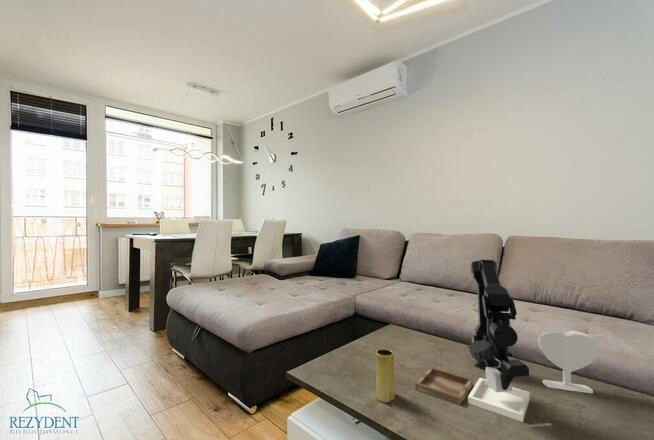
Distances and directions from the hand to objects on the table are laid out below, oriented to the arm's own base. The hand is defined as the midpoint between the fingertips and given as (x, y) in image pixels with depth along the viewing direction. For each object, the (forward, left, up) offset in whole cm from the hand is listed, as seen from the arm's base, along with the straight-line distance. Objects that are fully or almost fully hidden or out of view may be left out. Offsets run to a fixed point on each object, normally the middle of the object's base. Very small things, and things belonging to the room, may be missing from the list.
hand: (498, 384), depth 93 cm
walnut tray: (+3, -15, -5) cm, 17 cm away
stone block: (0, 0, -1) cm, 1 cm away
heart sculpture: (-23, +16, -6) cm, 29 cm away
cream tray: (0, 0, -5) cm, 5 cm away
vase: (+19, -28, -6) cm, 34 cm away
